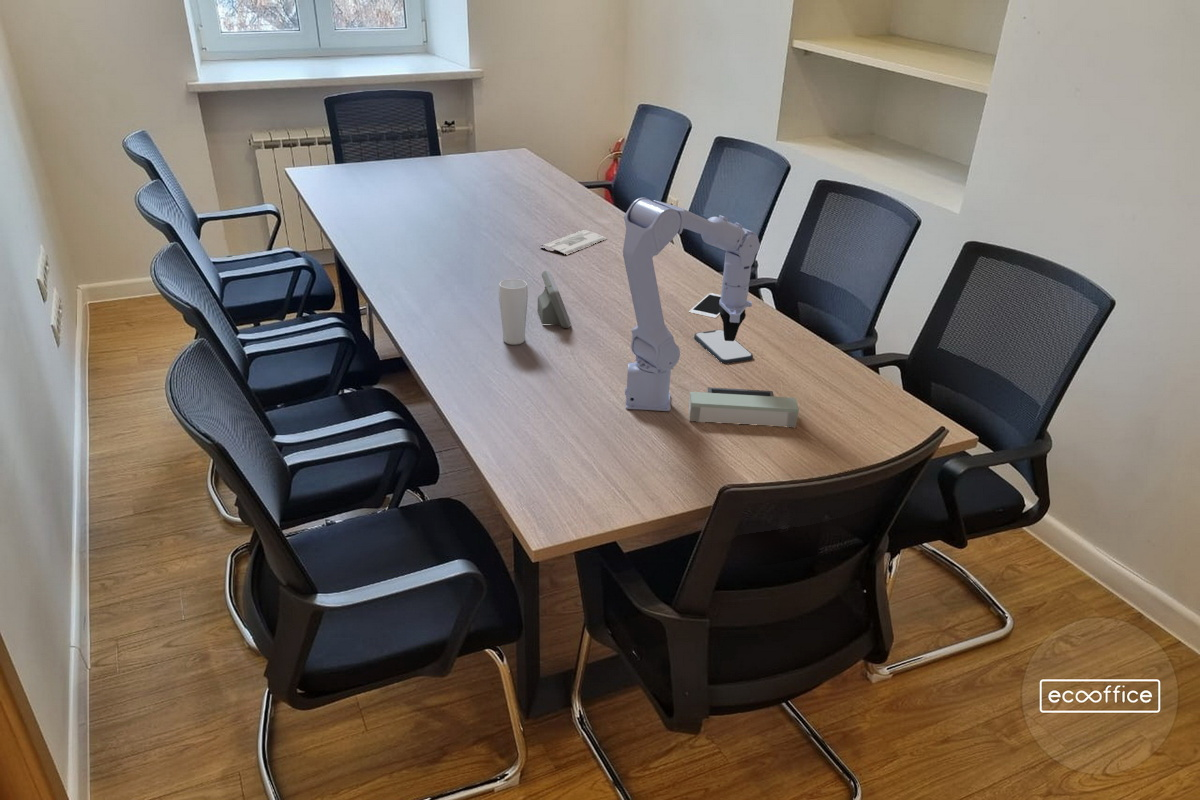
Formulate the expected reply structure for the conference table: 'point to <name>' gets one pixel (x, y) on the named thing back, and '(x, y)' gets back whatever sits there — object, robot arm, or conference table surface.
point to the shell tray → (740, 391)
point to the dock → (743, 409)
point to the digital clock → (552, 304)
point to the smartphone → (722, 347)
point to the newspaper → (575, 241)
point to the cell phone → (708, 306)
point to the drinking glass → (513, 310)
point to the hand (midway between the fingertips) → (729, 339)
